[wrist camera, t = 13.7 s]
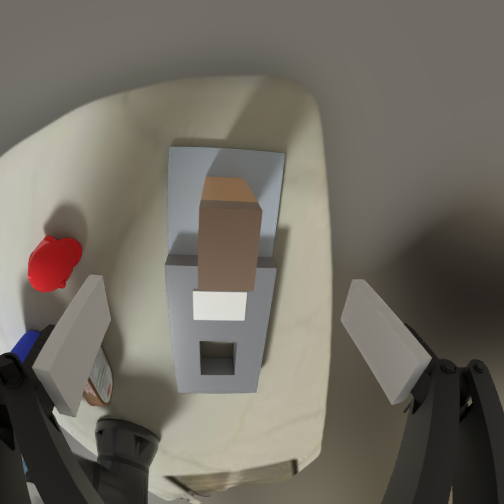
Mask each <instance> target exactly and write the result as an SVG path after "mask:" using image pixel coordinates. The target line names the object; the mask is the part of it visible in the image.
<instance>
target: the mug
mask: <svg viewBox="0 0 504 504" xmlns="http://www.w3.org/2000/svg"><path fill="white" fill-rule="evenodd" d="M39 335H40V333H39V332H36V331H29V332H27V333H25V334H24V335H23V336H22V338H21V339H20V340H19V341H18V343H17V344H16V345H15V347H14V348H13V349H12V350H11V352H10V353H15V354H16V355H18V357H19V359H20V361H21V363H23V362H24V360H25V358H26V356H27V355H28V353H29V351H30V349H31V348H32V347H33V344H34V343H35V341H36V340H37V338H38V336H39Z"/></svg>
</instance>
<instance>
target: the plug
mask: <svg viewBox="0 0 504 504" xmlns="http://www.w3.org/2000/svg"><path fill="white" fill-rule="evenodd" d="M262 212H263V210H262V208H261V207H260V205H259V203H258V202H257V200H256V198H255V196H254V195H253V193H252V191H251V190H250V188H249V186H248V184H247V183H246V181H245V179H244V178H228V177H206V176H205V181H204V186H203V191H202V196H201V201H200V206H199V230H198V290H213V291H254V284H255V275H256V267H257V258H258V249H259V240H260V231H261V221H262Z"/></svg>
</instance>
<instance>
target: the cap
mask: <svg viewBox="0 0 504 504" xmlns="http://www.w3.org/2000/svg"><path fill="white" fill-rule="evenodd" d="M81 256H82V247H81V245H80V243H79V242H78V241H76V240H74V239H71V238H64V239H60V240H56V239H55V238H53V237H52V236H46V237H45V238H44V240H43V241H41V242H40V244H39V245H38V246H37V247H36V249H35V250H34V251H33V252H32V254H31V255H30V258H29V262H28V275H27V277H28V278H29V281H30V283H31V285H32V286H33V287H34V288H35V289H36V290H38V291H40V292H51V291H54V290H56V289H58V288H61V289H62V288H65V286H66V281H67V280H68V278H69V277H70V275H71V273H72V271H73V267H75V266H76V265H77V263H78V262H79V261H80V259H81Z"/></svg>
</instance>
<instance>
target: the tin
mask: <svg viewBox="0 0 504 504" xmlns="http://www.w3.org/2000/svg"><path fill="white" fill-rule="evenodd" d="M112 390H113V376H112V371H111V367H110V365H109V362H108V360H107V358H106V355H105V353H104V350H103V348H102V345H101V346H100V348H99V351H98V353H97V356H96V358H95V361H94V364H93V367H92V369H91V372H90V375H89V378H88V381H87V383H86V386H85V389H84V392H83V396H84V398H85V399H86V401H87V402H88V403H89V404H90V405H91V406H107V405H109V404H110V402H111V397H112Z"/></svg>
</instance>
